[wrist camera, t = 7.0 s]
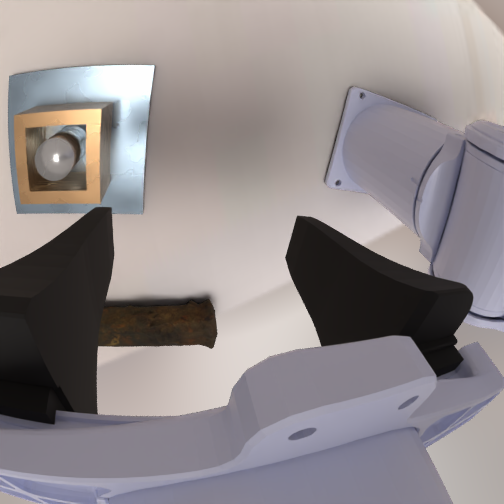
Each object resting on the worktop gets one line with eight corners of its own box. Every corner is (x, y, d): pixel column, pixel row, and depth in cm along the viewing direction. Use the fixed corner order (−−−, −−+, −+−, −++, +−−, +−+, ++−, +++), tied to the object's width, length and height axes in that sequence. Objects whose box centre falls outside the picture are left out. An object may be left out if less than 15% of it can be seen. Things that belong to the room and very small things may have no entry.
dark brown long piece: (214, 291, 27) (223, 330, 23) (209, 322, 29) (217, 361, 25) (13, 284, 21) (-4, 321, 17) (24, 316, 23) (12, 352, 20)
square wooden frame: (113, 101, 15) (101, 108, 13) (109, 182, 18) (100, 203, 16) (35, 106, 14) (13, 115, 11) (38, 183, 17) (20, 204, 14)
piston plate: (155, 65, 15) (149, 65, 12) (143, 210, 21) (138, 241, 17) (13, 75, 12) (-19, 81, 9) (19, 209, 18) (-3, 239, 15)
